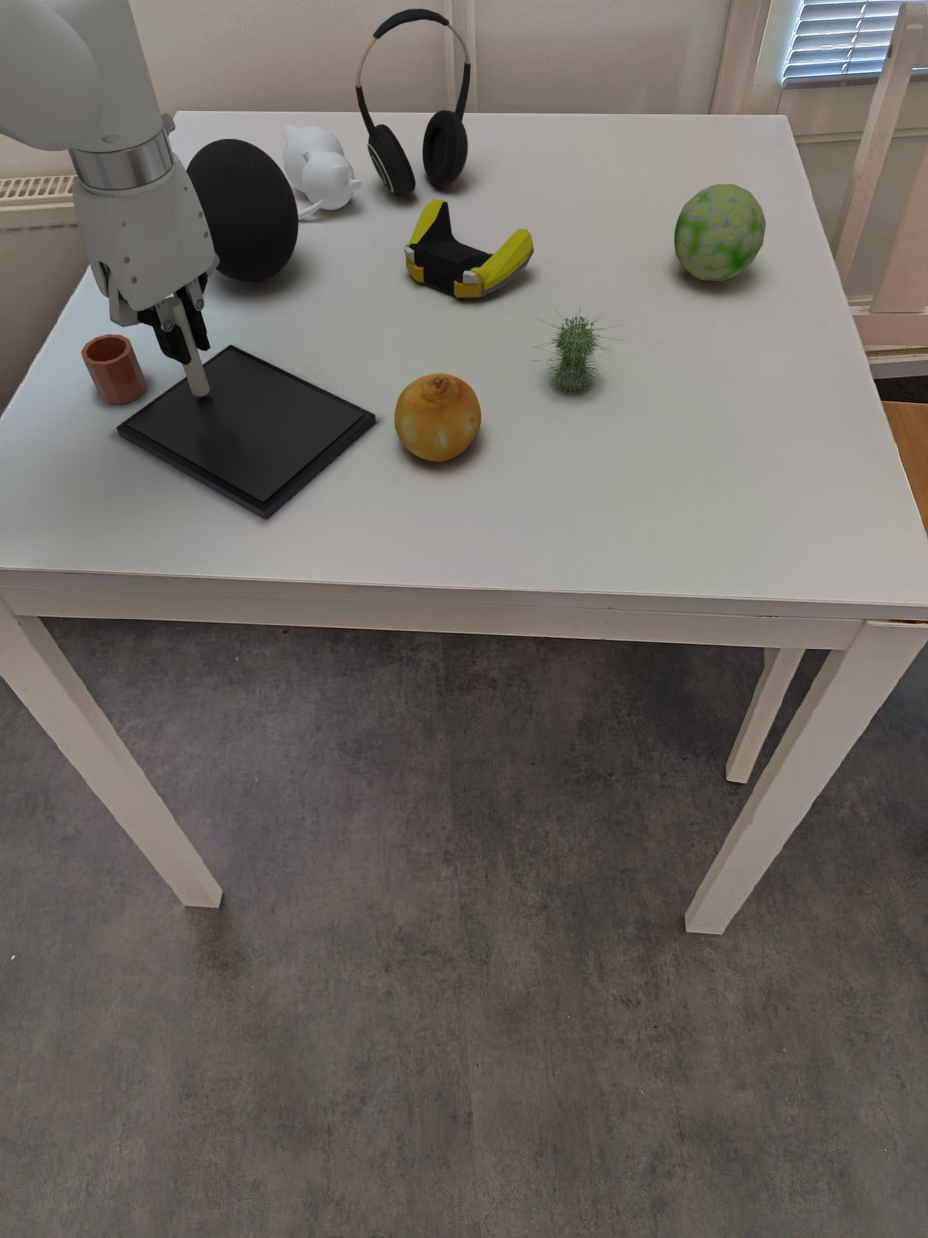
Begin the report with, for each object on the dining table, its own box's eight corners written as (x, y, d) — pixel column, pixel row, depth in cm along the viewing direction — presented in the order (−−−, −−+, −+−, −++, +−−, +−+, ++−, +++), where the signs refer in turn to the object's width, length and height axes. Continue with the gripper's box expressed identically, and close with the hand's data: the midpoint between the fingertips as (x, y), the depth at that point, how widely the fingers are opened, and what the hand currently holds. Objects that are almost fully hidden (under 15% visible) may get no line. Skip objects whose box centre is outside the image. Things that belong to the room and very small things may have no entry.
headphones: (356, 185, 112) (335, 8, 95) (457, 160, 115) (454, -15, 99) (379, 216, 107) (362, 35, 91) (484, 189, 111) (486, 11, 94)
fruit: (470, 470, 77) (471, 379, 74) (385, 466, 78) (381, 377, 75) (486, 452, 84) (487, 369, 81) (407, 448, 86) (405, 367, 83)
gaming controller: (435, 234, 104) (385, 273, 100) (433, 190, 100) (381, 228, 95) (538, 273, 99) (490, 315, 94) (541, 228, 95) (491, 270, 90)
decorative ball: (769, 283, 97) (796, 198, 89) (699, 308, 95) (719, 222, 87) (717, 242, 102) (737, 157, 94) (648, 264, 100) (663, 179, 92)
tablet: (266, 519, 77) (263, 510, 76) (118, 435, 84) (114, 425, 83) (376, 422, 84) (375, 412, 83) (232, 351, 91) (229, 342, 90)
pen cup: (121, 410, 86) (103, 370, 82) (90, 393, 88) (71, 352, 84) (156, 385, 88) (141, 344, 84) (125, 368, 90) (108, 328, 86)
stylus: (202, 404, 85) (170, 310, 76) (190, 397, 85) (157, 303, 76) (215, 394, 85) (185, 300, 77) (203, 388, 86) (171, 293, 77)
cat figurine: (339, 141, 99) (303, 97, 105) (276, 207, 102) (244, 160, 108) (381, 192, 106) (345, 149, 112) (321, 253, 109) (289, 207, 115)
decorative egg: (329, 266, 101) (308, 134, 89) (260, 318, 95) (228, 185, 83) (251, 235, 105) (222, 105, 93) (180, 284, 99) (139, 152, 87)
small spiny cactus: (636, 421, 84) (649, 358, 78) (516, 424, 84) (519, 361, 78) (621, 346, 91) (632, 283, 85) (510, 348, 91) (512, 286, 85)
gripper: (164, 103, 71) (218, 298, 86) (8, 183, 64) (97, 381, 79) (228, 126, 68) (273, 324, 83) (73, 212, 61) (153, 412, 76)
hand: (187, 350), depth 81 cm, fingers closed on stylus, 1 cm apart
